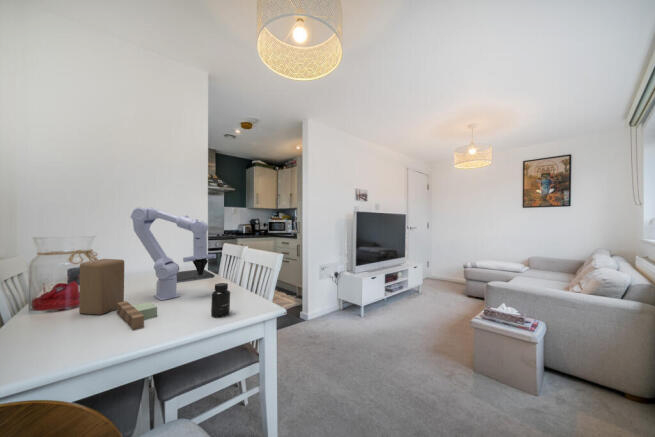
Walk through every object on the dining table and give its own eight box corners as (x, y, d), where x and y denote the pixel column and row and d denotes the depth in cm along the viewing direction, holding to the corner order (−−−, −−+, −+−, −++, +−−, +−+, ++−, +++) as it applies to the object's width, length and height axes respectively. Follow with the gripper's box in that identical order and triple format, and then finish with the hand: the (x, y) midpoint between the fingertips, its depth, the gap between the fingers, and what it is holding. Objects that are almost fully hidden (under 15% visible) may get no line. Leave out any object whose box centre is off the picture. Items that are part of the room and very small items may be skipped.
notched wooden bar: (116, 313, 97) (117, 302, 97) (126, 310, 100) (126, 301, 100) (133, 330, 84) (133, 318, 84) (143, 327, 86) (144, 315, 86)
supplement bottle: (225, 318, 95) (225, 287, 95) (207, 317, 95) (208, 286, 95) (232, 311, 102) (233, 282, 102) (216, 310, 102) (216, 281, 102)
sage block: (131, 316, 95) (131, 305, 95) (150, 311, 100) (150, 301, 100) (137, 322, 90) (138, 311, 90) (156, 317, 95) (157, 306, 95)
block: (124, 306, 104) (125, 259, 104) (101, 315, 95) (101, 263, 94) (103, 305, 105) (104, 258, 105) (77, 314, 96) (78, 262, 95)
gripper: (187, 249, 111) (187, 279, 111) (218, 245, 122) (219, 273, 122) (181, 247, 115) (181, 276, 115) (211, 244, 126) (212, 271, 127)
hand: (200, 274), depth 119 cm, fingers closed
